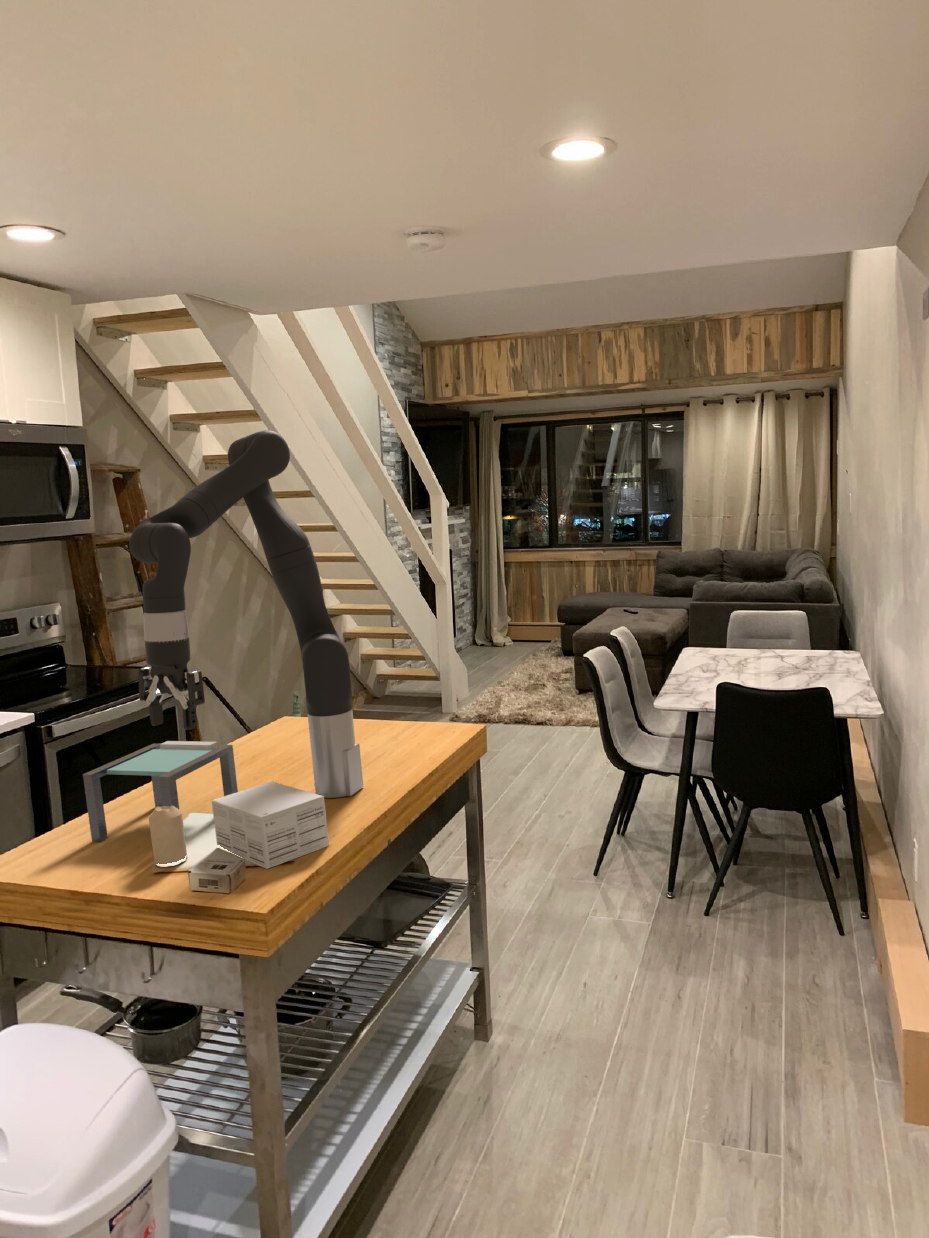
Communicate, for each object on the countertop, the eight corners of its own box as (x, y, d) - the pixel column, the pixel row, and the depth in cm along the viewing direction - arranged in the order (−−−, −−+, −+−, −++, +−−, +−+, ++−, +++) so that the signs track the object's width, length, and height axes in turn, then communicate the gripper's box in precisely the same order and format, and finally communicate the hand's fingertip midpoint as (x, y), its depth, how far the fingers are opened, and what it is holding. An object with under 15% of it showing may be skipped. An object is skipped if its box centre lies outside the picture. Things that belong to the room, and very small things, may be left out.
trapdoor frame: (161, 803, 195) (153, 743, 193) (239, 807, 188) (232, 744, 187) (91, 841, 175) (82, 774, 173) (176, 846, 169) (168, 777, 167)
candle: (191, 854, 164) (184, 800, 163) (182, 866, 159) (175, 810, 158) (159, 857, 164) (153, 802, 163) (150, 869, 159) (143, 813, 157)
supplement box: (331, 846, 164) (325, 795, 162) (266, 871, 155) (261, 817, 153) (278, 826, 176) (273, 779, 174) (216, 848, 167) (210, 798, 165)
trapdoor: (164, 752, 192) (163, 740, 192) (222, 753, 188) (221, 741, 187) (107, 778, 176) (106, 765, 176) (169, 780, 171) (168, 767, 171)
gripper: (211, 635, 163) (217, 726, 165) (156, 632, 170) (163, 719, 172) (177, 641, 156) (184, 735, 158) (122, 638, 164) (129, 727, 166)
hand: (173, 726), depth 165 cm, fingers open, 8 cm apart
